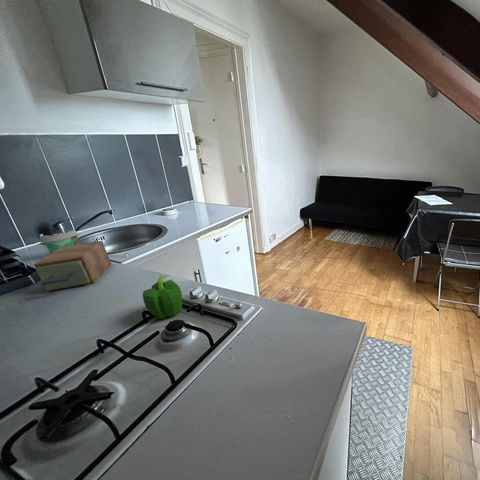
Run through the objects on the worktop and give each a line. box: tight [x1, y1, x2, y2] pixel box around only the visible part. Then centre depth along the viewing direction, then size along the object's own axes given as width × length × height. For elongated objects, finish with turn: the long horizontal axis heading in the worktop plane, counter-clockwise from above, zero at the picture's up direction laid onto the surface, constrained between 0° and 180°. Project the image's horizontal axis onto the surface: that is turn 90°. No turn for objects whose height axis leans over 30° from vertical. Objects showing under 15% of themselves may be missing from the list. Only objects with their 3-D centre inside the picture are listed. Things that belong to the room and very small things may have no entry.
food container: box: [39, 229, 80, 254], centre depth 105 cm, size 12×6×10 cm, turn 105°
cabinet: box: [33, 240, 112, 292], centre depth 88 cm, size 15×12×10 cm
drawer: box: [35, 260, 90, 291], centre depth 84 cm, size 18×11×8 cm, turn 18°
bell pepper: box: [142, 274, 183, 320], centre depth 66 cm, size 8×8×10 cm
